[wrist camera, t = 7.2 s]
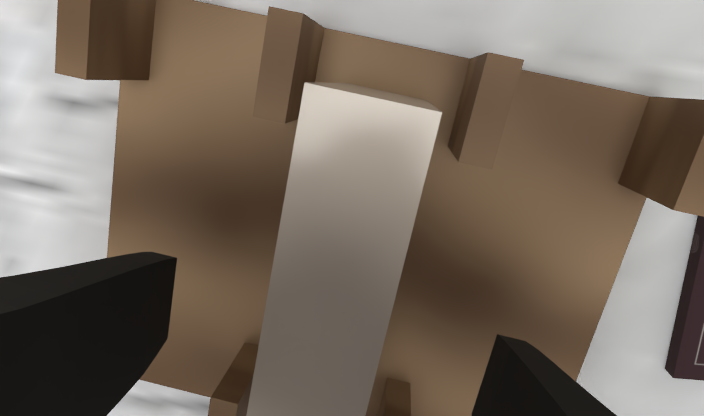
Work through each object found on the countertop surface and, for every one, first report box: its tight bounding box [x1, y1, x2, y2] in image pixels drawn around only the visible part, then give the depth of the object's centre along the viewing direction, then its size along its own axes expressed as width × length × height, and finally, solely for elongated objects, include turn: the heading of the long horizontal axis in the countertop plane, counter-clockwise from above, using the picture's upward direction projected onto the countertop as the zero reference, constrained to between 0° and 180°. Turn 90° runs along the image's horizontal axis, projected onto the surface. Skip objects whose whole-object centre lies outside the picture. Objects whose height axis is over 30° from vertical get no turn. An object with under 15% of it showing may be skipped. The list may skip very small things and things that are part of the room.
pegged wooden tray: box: [55, 0, 704, 416], centre depth 14 cm, size 13×16×4 cm
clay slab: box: [246, 82, 442, 416], centre depth 12 cm, size 10×2×6 cm, turn 168°
